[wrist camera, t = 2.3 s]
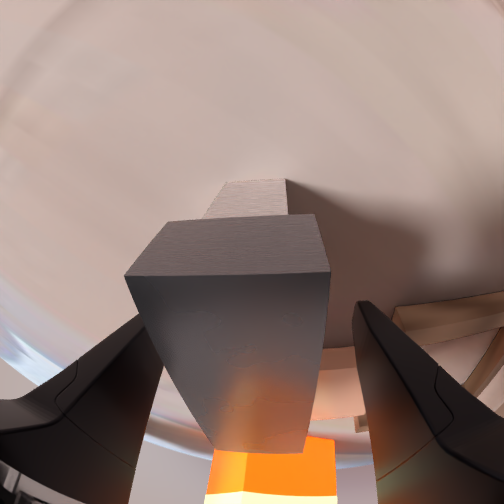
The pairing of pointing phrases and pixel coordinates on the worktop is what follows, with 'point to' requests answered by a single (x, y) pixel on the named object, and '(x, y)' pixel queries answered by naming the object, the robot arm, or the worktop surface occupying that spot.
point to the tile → (338, 386)
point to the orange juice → (275, 476)
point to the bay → (455, 333)
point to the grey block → (240, 315)
